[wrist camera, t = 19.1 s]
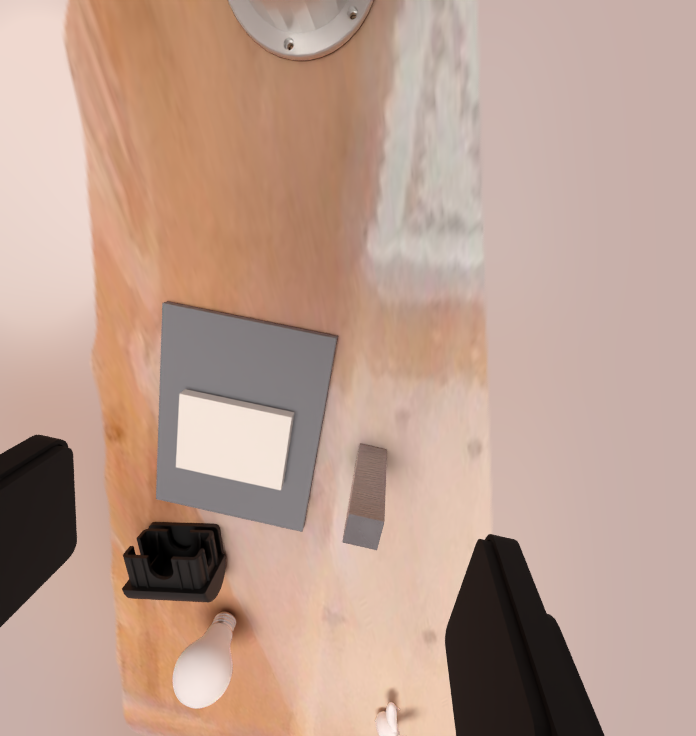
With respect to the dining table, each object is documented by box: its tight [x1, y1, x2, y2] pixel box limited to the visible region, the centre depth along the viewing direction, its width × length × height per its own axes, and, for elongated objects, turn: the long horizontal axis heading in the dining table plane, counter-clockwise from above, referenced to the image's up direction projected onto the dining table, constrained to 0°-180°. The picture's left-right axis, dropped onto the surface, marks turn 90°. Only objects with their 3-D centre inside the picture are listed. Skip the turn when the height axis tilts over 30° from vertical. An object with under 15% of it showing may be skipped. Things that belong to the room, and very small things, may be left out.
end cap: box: [122, 522, 226, 602], centre depth 50 cm, size 10×7×7 cm
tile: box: [176, 389, 294, 490], centre depth 45 cm, size 2×12×9 cm
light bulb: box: [173, 611, 236, 709], centre depth 51 cm, size 7×7×11 cm
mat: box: [156, 301, 338, 532], centre depth 46 cm, size 24×18×1 cm
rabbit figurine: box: [375, 702, 405, 736], centre depth 57 cm, size 6×4×8 cm
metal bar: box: [343, 444, 387, 550], centre depth 41 cm, size 3×3×12 cm
